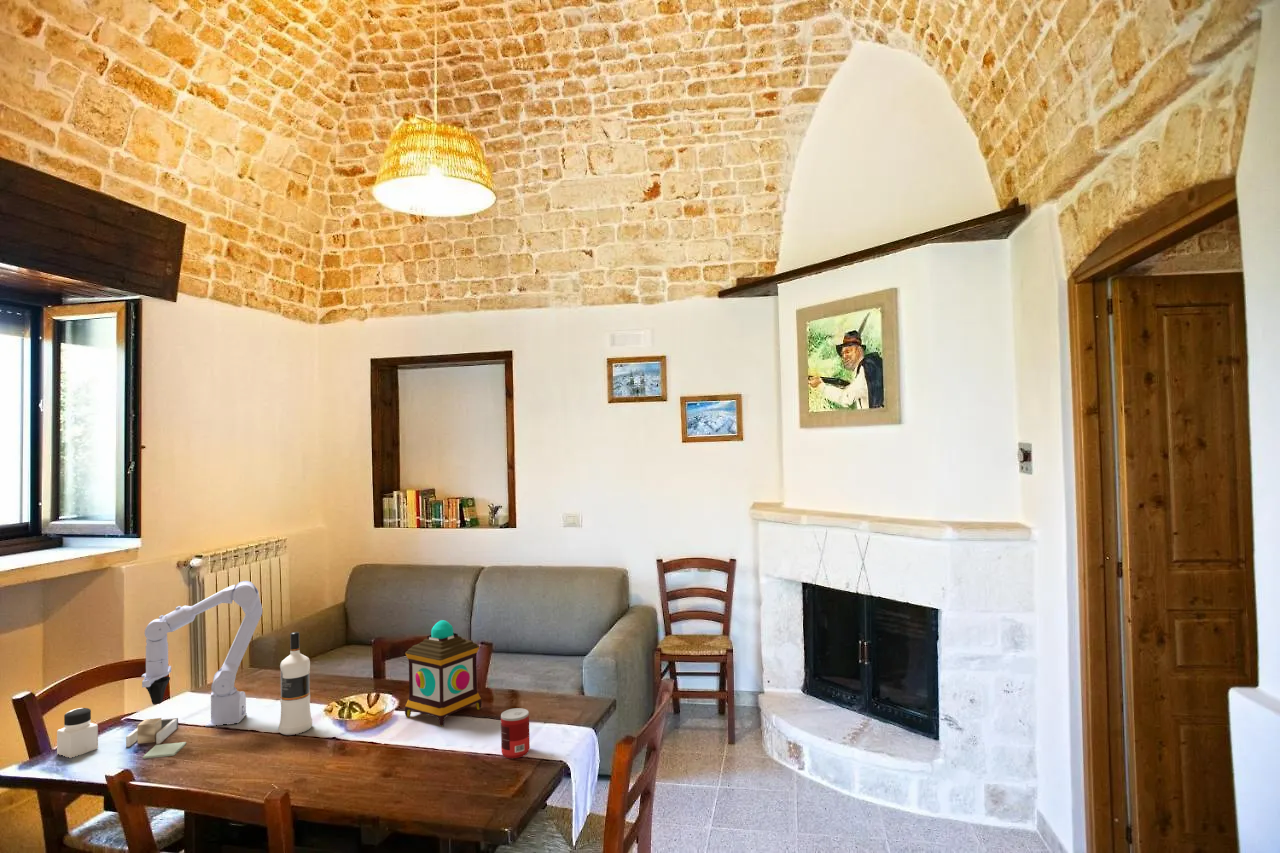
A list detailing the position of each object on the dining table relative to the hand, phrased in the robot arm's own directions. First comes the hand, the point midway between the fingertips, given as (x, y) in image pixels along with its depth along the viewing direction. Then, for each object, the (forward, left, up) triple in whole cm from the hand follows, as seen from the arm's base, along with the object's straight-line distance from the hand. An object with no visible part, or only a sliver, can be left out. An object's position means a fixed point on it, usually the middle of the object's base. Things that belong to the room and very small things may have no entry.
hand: (157, 703), depth 216 cm
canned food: (-108, +43, -9) cm, 117 cm away
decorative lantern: (-86, +7, -9) cm, 87 cm away
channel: (0, +3, -9) cm, 10 cm away
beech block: (0, +5, -9) cm, 10 cm away
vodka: (-42, +9, -9) cm, 44 cm away
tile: (-9, +15, -9) cm, 20 cm away
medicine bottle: (+17, +9, -9) cm, 21 cm away
